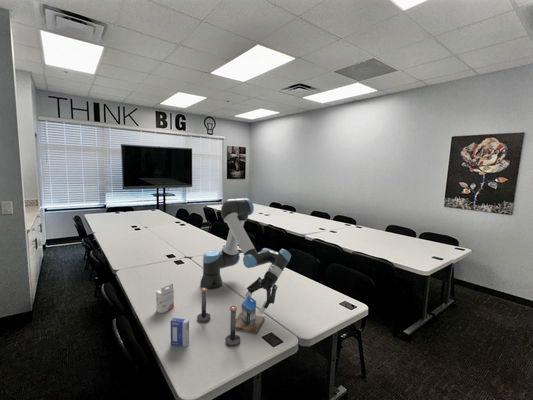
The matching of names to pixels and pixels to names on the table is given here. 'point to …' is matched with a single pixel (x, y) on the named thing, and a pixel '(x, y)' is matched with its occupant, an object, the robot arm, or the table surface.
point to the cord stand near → (232, 329)
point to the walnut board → (245, 327)
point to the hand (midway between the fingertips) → (251, 308)
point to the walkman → (179, 332)
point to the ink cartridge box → (165, 299)
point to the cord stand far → (203, 308)
